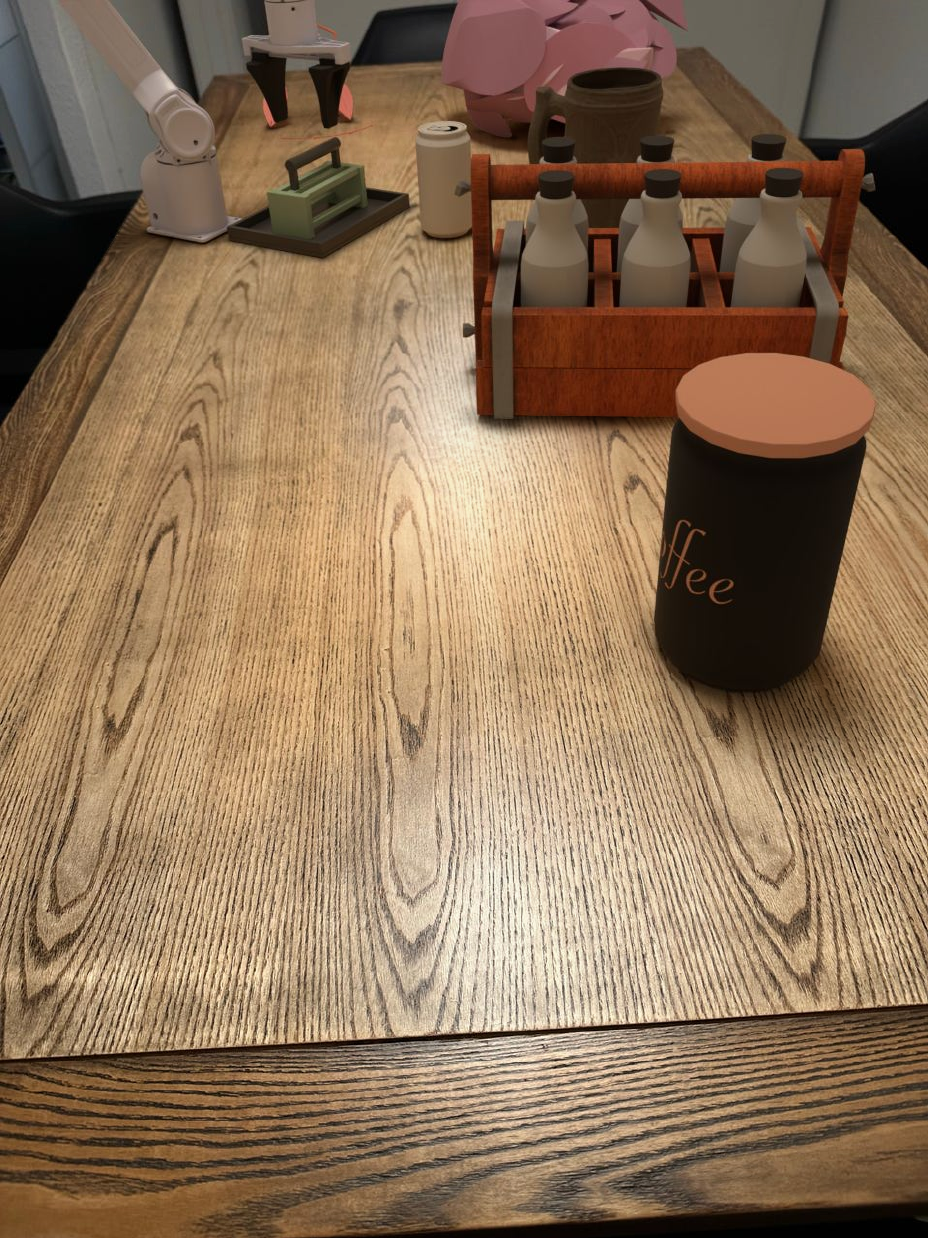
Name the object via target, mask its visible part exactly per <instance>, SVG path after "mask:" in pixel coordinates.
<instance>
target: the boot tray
mask: <svg viewBox="0 0 928 1238" xmlns="http://www.w3.org/2000/svg"><path fill="white" fill-rule="evenodd" d="M366 192H367V203H368V206H366V207H365V208H361V207H354V206H352V207H350V208H349V209H347V210H345V211H344V212H342V213H340V214H338V215H337V216H335V217H333V218H331V219H330V220H328V221H326V222H325V223H323V224H321V225H319V226H318V227H316V228H314V234H315V237H314V238H312V239H304V238H298V237H292V236H286V235H281V234H275V233H273V230H272V224H271V217H270V211H269V205H267V206H265V207H263V208H261V209H259V210H257V211H254V212H253V213H251V214H249V215H247V216H245V217H243V218H242V219H241V220H239V221H237V222H235V223H233V224H231V225H229V226H227V231H226V232H227V236H228V241H231V242H236V243H241V244H246V245H251V246H257V247H261V248H262V247H263V248H268V249H274V250H278V251H284V252H289V253H293V254H300V255H305V256H310V257H316V258H322V259H324V258H326V257H327V256H330V255H331V254H332V253H334V252H336V251H337V250H340V249H341V248H343V247H344V246H347V245H348V244H349V243H351V242H353V241H354V240H356V239H358V238H359V237H362V236H364V234H367V233H368V232H370V231H371V230H374V229H375V228H377V227H378V226H380V225H382V224H383V223H386V222H387V221H388V220H391V219H392V218H393V217H395V216H397V215H398V214H400V213H402V212H404V211H405V210H407V209H409V208H410V207H411V206H410V193H406V192H400V191H394V190H387V189H380V188H373V187H367V186H366ZM324 193H325V192H324ZM322 194H323V193H322ZM320 195H321V194H320ZM315 198H316V197H315ZM313 199H314V198H313ZM311 200H312V199H311ZM335 205H337V204H334V203H328V202H326V203H324V204H323V205H321V206H319V207H317V208H315V209H314V210H312V218H314V217H315V216H317V215H319V214H321V213H322V212H324V211H326V210H328V209H330V208H331V207H333V206H335Z"/></svg>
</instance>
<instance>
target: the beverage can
mask: <svg viewBox="0 0 928 1238" xmlns="http://www.w3.org/2000/svg"><path fill="white" fill-rule="evenodd" d="M467 130H468V127H467V124H465V123H463V122H460V121H454V120H438V121H437V120H436V121H431V122H426V123H424V124H421V125H420V126H418V127H417V132H418V134H417V136H416V138H415V140H414V141H415V157H416V173H417V185H418V188H417V189H418V201H419V202H418V203H419V214H420V215H419V216H420V227H421V230H423V231H424V232H425V233H426V234H427V235H428V236H430V237H433V238H437V239H438V238H439V239H453V238H459V237H461V236H464V235H466V234H467V233H469V230H470V229H472V207H471V192H467V193H466V194H464V195H462V196H460V197H459V196H456V195H454V194H455V189H456V186H457V184H458V182H459V180H460V179H462V180H464V181H467V182H471V157H472V149H471V147H472V146H471V145H472V144H471V136H470V135H469V132H467Z"/></svg>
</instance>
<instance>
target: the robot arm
mask: <svg viewBox="0 0 928 1238" xmlns="http://www.w3.org/2000/svg"><path fill="white" fill-rule="evenodd" d="M56 2H57V3H58V4H59V6H60V7H61V8H62V9H63V11H64V12H65V13H66V14H67V16H68V17H69V18H70V19H71V20H72V22H73V23H74V24H75V25H76V27H77V28H78V29H79V30H80V31H81V33H82V34H83V35H84V37H85V38H86V39H87V41H89V44H91V45H92V47H93V48H94V49H95V50H96V51H97V53H98V54H99V55H100V56H101V58H102V59H103V60H104V61H105V62H106V63H107V65H108V66H109V67H110V69H111V70H112V71H113V72H114V74H115V75H116V76H117V77H118V78H119V80H120V81H121V82H122V83H123V85H124V86H125V87H126V88H127V89H128V90H129V92H130V94H132V96H133V97H134V98H135V99H136V100H137V102H138V103H139V105H140V106H141V107H142V109H143V111H144V113H145V117H146V121H147V124H148V127H149V128H150V130H151V131H152V133H153V134H154V135H155V136H156V137H157V138H159V141H158V142H157V145H156V149H155V150H154V151H152V152H149V153H148V154H147V155H146V156H145V158H144V159H143V161H142V163H141V167H140V184H141V189H142V192H143V196H144V202H145V207H146V210H147V215H148V220H149V224H150V226H148V227H146V232H147V233H150V234H155V235H160V236H166V237H170V238H174V239H181V240H186V241H192V242H197V243H201V244H202V243H207V242H208V241H211V240H212V239H214V238H216V237H219V236H220V235H223V234H224V233H226V232H227V226H229V225H231V224H233V223H235V222H237V221H239V220H241V219H243V218H241V217H236V216H231V215H228V211H227V204H226V199H225V194H224V189H223V182H222V177H221V176H222V175H221V171H220V166H219V160H218V155H217V148H216V146H215V145H214V141H215V137H216V129H215V124H214V122H213V120H212V117H211V116H210V115H209V113H208V112H207V111H206V110H205V109H204V108H203V107H201V106H199V104H198V103H196V101H195V99H194V98H193V97H192V95H191V94H190V93H189V92H187V91H186V90H184V89H182V88H180V87H178V86H177V85H176V84H175V83H174V82H173V81H172V79H171V78H170V77H169V76H168V74H166V72H165V71H164V70H163V68H162V67H161V66H160V65H159V63H158V62H157V61H156V60H155V58H154V57H153V56H152V54H151V53H150V52H149V51H148V49H147V48H146V47H145V45H144V44H143V43H142V42H141V40H140V38H138V36H137V35H136V33H134V31H133V30H132V28H131V27H130V26H129V25H128V23H127V22H126V21H125V19H123V17H122V15H120V13H119V12H118V11H117V9H116V8H115V7H114V6H113V4H112V3H111V1H110V0H56ZM263 2H264V9H265V14H266V22H267V28H268V29H267V30H268V35H256V34H251V35H248V36H245V37H242V38H241V42H242V43H241V44H242V50H243V56H244V57H251V59H250V61H247V62H246V63H245V67H246V71H247V72H248V73H249V74H250V75H251V77H252V78H253V80H254V82H255V83H256V85H257V86H258V88H259V90H260V92H261V94H262V96H263V99H264V98H265V100H266V102H267V105H268V107H269V110H270V112H271V115H272V118H273V120H274V122H275V123H276V124H277V123H282V122H283V121H286V120H288V119H289V106H288V105H289V104H288V102H287V97H286V89H287V87H286V88H285V86H286V70H287V59H294V60H304V61H314V62H318V63H316V64H314V65H312V66H309V67H308V74H309V75H310V78H311V80H312V82H313V85H314V88H315V92H316V96H317V99H318V107H319V113H320V119H321V124H322V127H323V129H327V130H329V129H331V128H333V127H336V126H338V124H339V123H338V121H339V115H338V113H339V105H340V98H341V93H342V89H343V86H344V83H345V82H346V79H347V76H348V74H349V72H350V69H351V62H352V52H351V43H350V42H345V41H340V40H339V41H338V40H337V41H334V39H330V38H325V37H321V34H320V33H319V30H318V29H319V28H318V27H317V24H318V22H317V14H316V6H315V5H316V3H315V0H263Z"/></svg>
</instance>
